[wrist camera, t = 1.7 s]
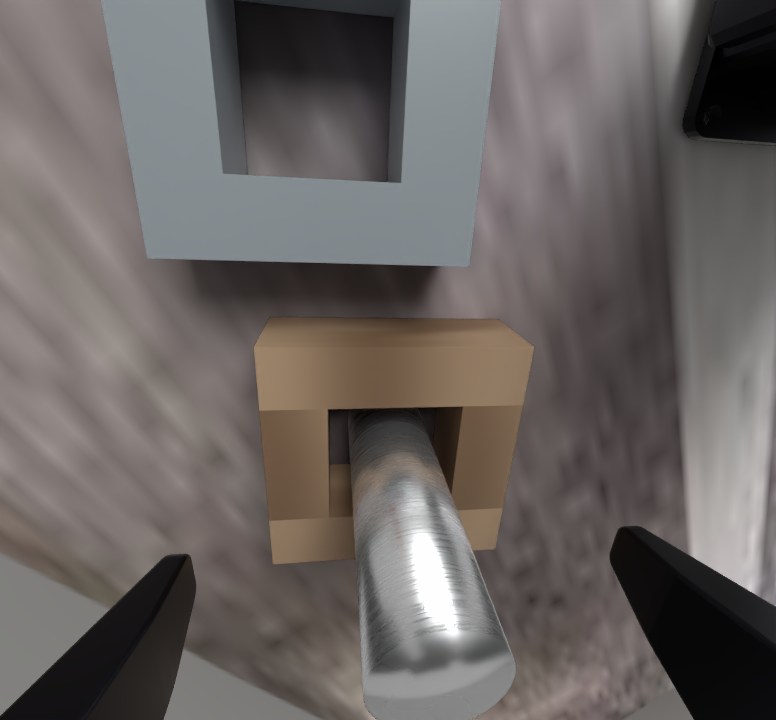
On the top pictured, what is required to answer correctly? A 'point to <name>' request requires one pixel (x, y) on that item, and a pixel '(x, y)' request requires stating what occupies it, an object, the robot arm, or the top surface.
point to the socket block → (384, 390)
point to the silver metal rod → (418, 581)
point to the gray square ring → (289, 194)
